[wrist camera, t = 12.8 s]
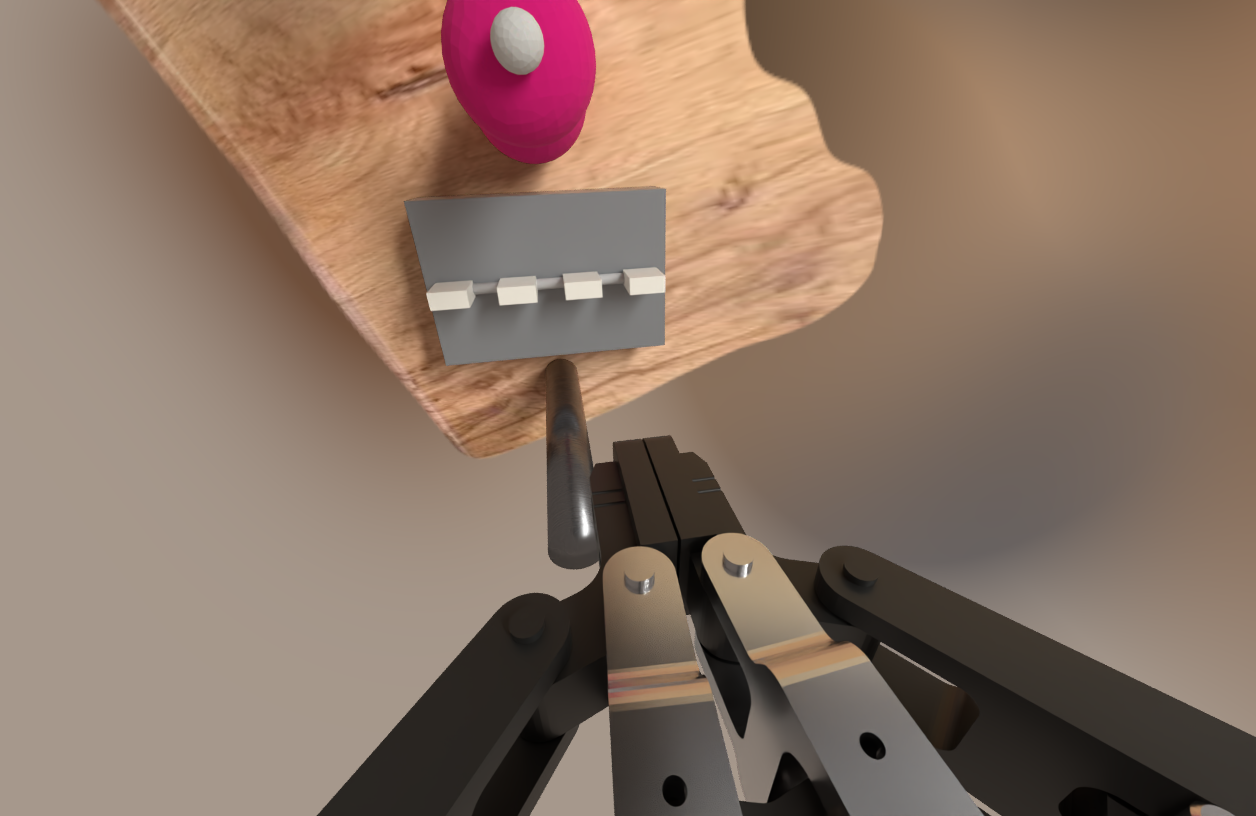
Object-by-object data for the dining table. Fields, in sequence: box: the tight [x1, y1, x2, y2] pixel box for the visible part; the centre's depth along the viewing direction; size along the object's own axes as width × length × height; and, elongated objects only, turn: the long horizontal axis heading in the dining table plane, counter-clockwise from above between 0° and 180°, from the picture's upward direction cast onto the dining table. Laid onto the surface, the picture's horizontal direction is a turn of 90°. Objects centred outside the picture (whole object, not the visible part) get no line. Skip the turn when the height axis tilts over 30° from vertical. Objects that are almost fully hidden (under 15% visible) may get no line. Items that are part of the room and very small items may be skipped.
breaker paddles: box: [426, 267, 665, 311], centre depth 32 cm, size 1×16×3 cm, turn 91°
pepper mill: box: [441, 0, 596, 164], centre depth 23 cm, size 7×7×20 cm
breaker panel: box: [404, 186, 666, 366], centre depth 35 cm, size 12×18×4 cm, turn 92°
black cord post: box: [545, 359, 599, 569], centre depth 32 cm, size 3×3×22 cm
